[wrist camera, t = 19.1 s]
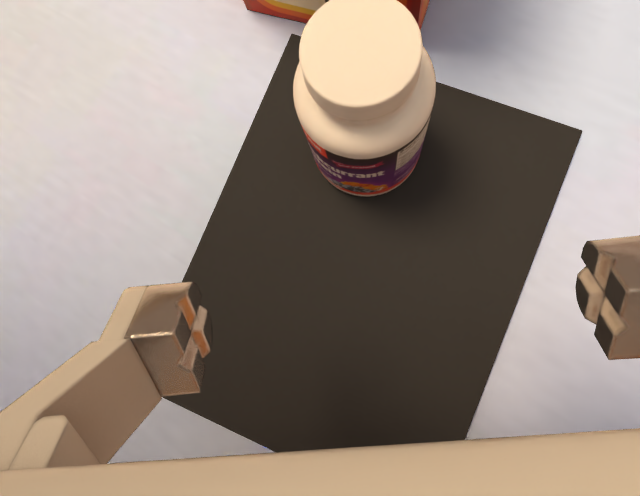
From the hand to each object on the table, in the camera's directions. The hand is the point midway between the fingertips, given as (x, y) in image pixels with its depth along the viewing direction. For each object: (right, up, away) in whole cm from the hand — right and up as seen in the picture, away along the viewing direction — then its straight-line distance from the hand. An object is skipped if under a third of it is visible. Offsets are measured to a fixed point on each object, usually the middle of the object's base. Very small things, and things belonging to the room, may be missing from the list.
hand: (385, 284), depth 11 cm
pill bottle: (+1, +6, +15) cm, 16 cm away
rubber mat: (0, 0, +14) cm, 14 cm away
